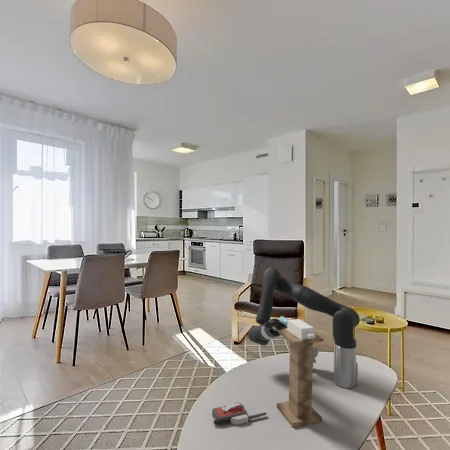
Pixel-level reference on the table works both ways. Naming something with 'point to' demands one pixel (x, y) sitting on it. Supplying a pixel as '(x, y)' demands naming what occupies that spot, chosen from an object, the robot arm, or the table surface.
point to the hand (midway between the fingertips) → (287, 321)
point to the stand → (300, 382)
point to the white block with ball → (298, 328)
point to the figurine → (315, 353)
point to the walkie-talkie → (232, 414)
